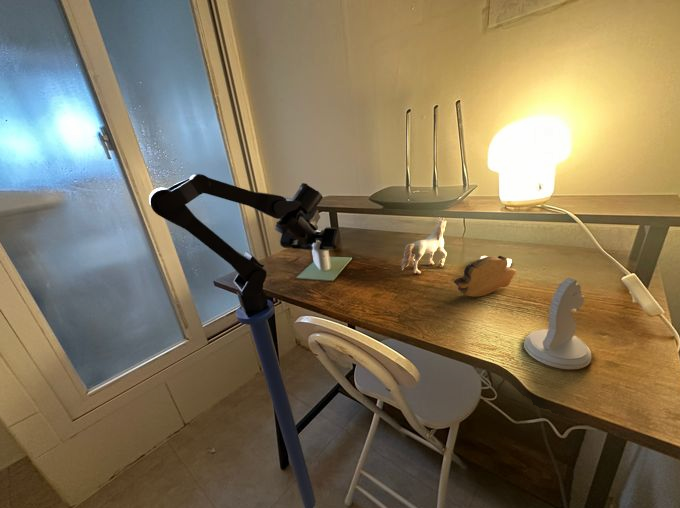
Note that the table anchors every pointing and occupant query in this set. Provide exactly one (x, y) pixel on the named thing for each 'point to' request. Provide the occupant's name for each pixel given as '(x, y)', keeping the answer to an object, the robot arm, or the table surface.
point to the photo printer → (320, 256)
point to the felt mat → (329, 275)
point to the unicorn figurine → (426, 248)
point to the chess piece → (561, 332)
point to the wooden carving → (485, 276)
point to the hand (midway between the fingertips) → (320, 249)
